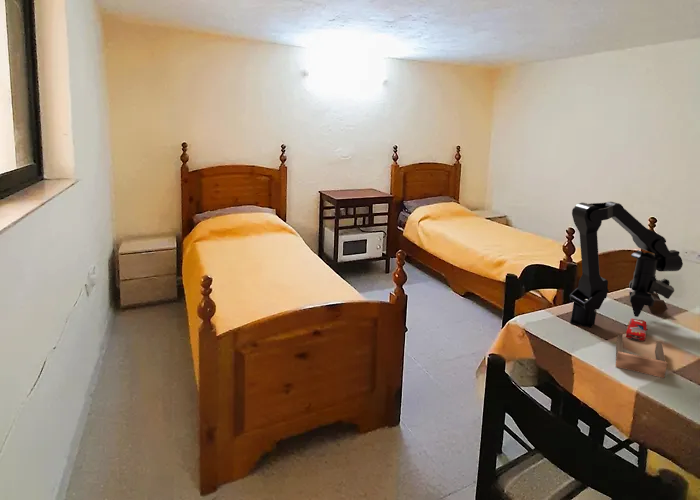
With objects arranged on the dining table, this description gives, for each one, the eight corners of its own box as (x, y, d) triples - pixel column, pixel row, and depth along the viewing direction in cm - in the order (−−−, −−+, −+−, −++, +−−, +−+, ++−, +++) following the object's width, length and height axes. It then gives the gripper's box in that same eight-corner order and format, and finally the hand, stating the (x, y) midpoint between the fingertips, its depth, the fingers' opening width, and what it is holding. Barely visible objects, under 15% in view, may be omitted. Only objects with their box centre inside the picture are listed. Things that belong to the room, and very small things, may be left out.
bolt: (650, 304, 173) (658, 318, 159) (638, 296, 174) (645, 309, 160) (662, 293, 171) (671, 305, 157) (649, 284, 172) (657, 296, 158)
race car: (644, 344, 137) (647, 332, 136) (623, 339, 140) (625, 327, 139) (647, 329, 148) (650, 317, 147) (628, 325, 151) (630, 313, 150)
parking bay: (615, 366, 124) (618, 353, 123) (616, 342, 137) (618, 330, 136) (664, 377, 118) (667, 363, 117) (659, 352, 132) (662, 339, 131)
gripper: (678, 284, 137) (667, 332, 142) (672, 268, 153) (663, 311, 157) (634, 277, 143) (625, 324, 147) (633, 262, 158) (625, 305, 162)
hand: (636, 316), depth 153 cm, fingers closed
